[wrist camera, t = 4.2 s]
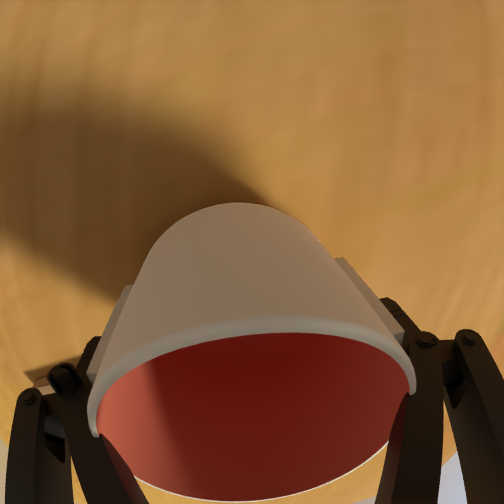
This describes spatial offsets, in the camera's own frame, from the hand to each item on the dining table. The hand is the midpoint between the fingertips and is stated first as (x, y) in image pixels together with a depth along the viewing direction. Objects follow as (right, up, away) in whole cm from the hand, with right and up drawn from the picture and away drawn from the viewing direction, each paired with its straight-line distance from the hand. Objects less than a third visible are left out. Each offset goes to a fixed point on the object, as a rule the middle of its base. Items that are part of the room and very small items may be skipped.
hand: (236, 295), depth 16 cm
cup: (0, 0, +1) cm, 1 cm away
